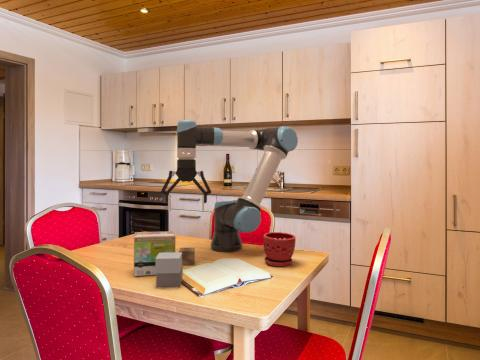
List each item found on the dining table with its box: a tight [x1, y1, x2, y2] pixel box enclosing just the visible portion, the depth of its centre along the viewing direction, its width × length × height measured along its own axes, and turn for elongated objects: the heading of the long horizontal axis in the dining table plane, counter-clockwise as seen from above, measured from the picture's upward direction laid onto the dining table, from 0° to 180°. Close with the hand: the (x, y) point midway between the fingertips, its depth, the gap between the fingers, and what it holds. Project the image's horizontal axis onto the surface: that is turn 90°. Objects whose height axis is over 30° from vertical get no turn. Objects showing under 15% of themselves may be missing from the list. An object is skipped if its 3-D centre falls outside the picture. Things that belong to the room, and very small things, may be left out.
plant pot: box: [263, 231, 296, 267], centre depth 151 cm, size 13×13×12 cm
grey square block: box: [155, 251, 183, 273], centre depth 126 cm, size 8×8×5 cm
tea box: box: [133, 230, 176, 277], centre depth 139 cm, size 15×10×15 cm
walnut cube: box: [178, 247, 196, 267], centre depth 151 cm, size 6×6×6 cm
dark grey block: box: [155, 266, 184, 289], centre depth 127 cm, size 8×8×5 cm
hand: (186, 211), depth 150 cm, fingers open, 13 cm apart
